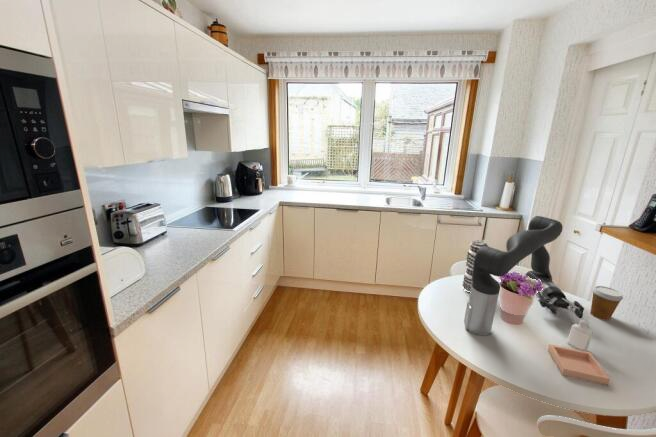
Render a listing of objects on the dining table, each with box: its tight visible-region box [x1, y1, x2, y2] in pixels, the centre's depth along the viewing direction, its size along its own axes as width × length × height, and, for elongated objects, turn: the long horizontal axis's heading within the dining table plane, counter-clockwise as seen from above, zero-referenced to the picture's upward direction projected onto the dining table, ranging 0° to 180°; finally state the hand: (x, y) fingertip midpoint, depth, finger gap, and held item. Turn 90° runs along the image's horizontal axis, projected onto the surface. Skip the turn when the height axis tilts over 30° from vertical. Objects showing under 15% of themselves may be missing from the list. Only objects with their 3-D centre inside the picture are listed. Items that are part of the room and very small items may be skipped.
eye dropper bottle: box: [566, 316, 593, 352], centre depth 105 cm, size 4×6×12 cm
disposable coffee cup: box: [590, 285, 624, 321], centre depth 124 cm, size 10×10×12 cm
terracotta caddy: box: [547, 343, 611, 386], centre depth 97 cm, size 12×12×2 cm
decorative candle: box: [462, 240, 490, 292], centre depth 140 cm, size 9×9×25 cm
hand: (568, 314), depth 115 cm, fingers open, 8 cm apart
